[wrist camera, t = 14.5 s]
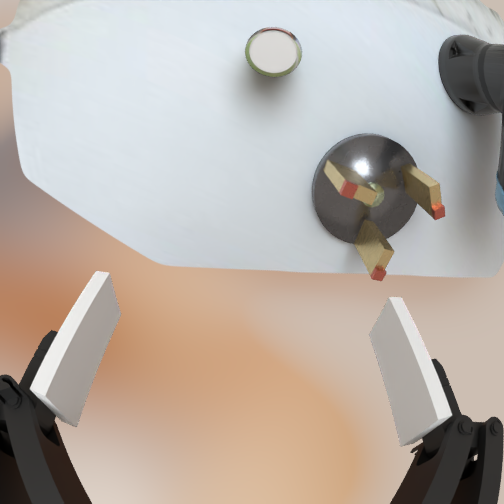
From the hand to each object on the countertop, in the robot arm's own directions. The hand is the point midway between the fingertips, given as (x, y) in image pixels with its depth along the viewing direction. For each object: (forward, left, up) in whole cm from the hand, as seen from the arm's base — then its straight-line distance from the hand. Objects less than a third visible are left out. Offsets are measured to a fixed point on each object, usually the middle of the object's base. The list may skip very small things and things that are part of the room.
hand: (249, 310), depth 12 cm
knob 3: (-22, +12, -31) cm, 39 cm away
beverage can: (-8, -12, -33) cm, 36 cm away
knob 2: (-12, +19, -31) cm, 38 cm away
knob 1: (-11, +7, -31) cm, 33 cm away
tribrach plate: (-15, +13, -33) cm, 38 cm away
